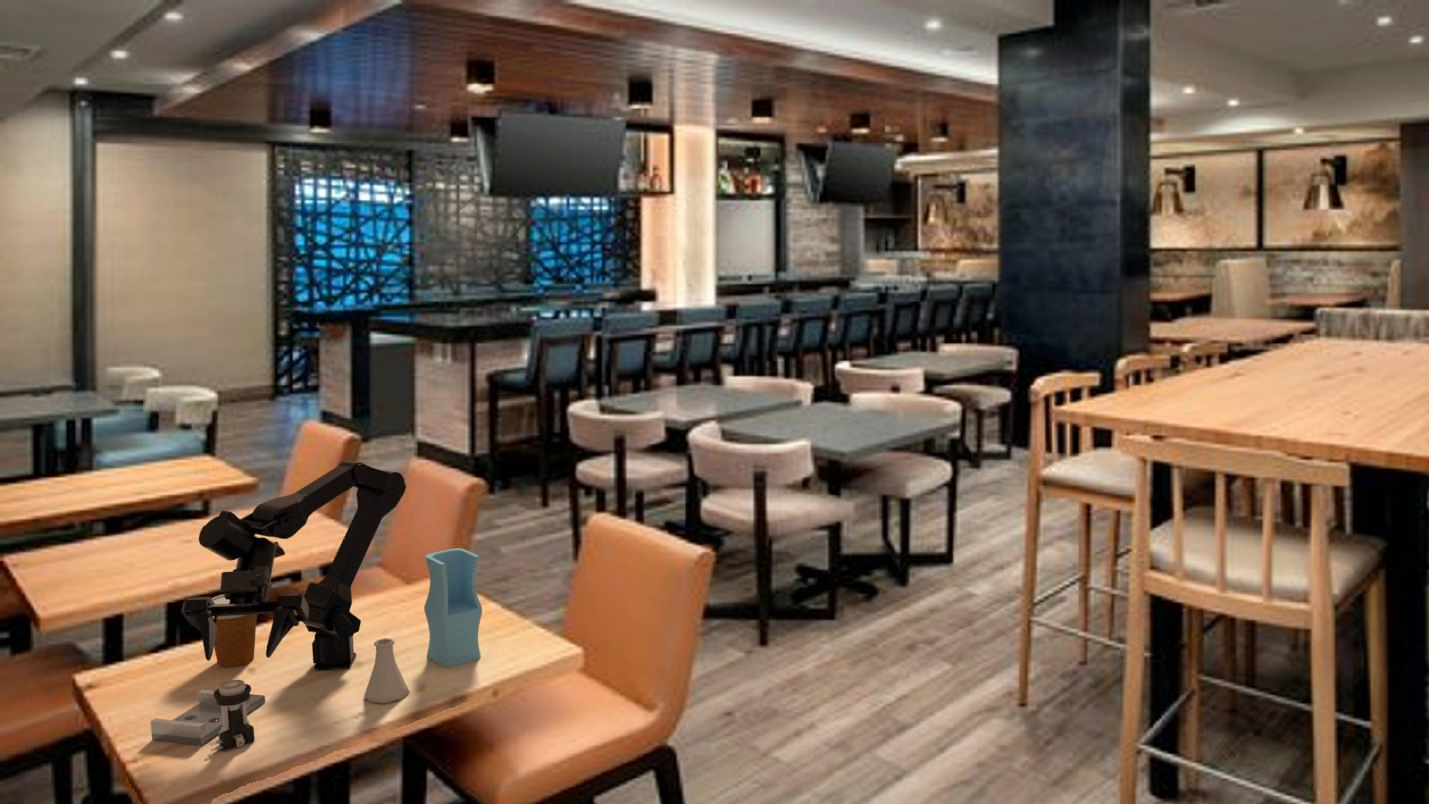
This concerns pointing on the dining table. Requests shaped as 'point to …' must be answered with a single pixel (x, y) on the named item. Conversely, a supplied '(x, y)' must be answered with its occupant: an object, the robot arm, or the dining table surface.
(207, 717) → the bracket
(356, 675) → the dining table surface
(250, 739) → the push button
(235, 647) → the disposable coffee cup
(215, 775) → the dining table surface
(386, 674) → the flask
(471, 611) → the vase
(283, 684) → the dining table surface
